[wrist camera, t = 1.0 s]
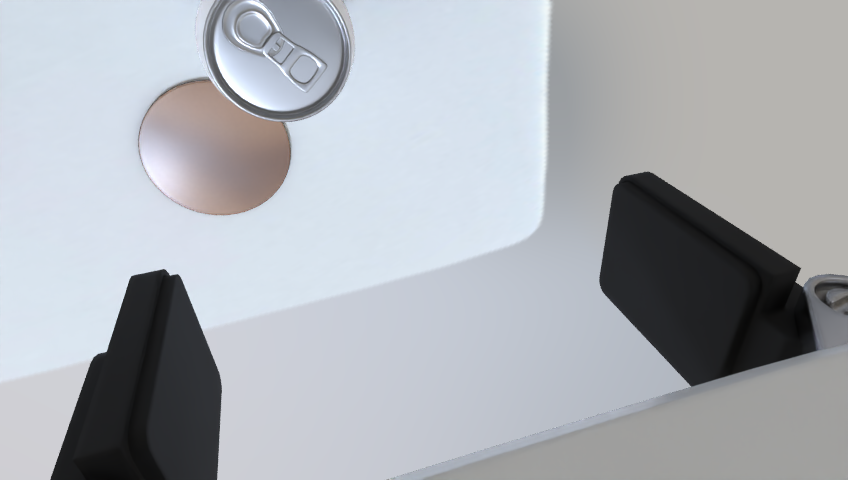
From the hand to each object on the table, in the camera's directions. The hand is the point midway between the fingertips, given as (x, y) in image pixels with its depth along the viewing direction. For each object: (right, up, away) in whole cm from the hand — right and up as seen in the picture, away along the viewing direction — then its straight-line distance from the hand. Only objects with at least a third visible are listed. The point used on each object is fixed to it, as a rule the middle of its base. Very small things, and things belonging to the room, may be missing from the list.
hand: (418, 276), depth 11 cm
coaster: (-13, +7, +22) cm, 27 cm away
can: (-9, +14, +19) cm, 25 cm away
